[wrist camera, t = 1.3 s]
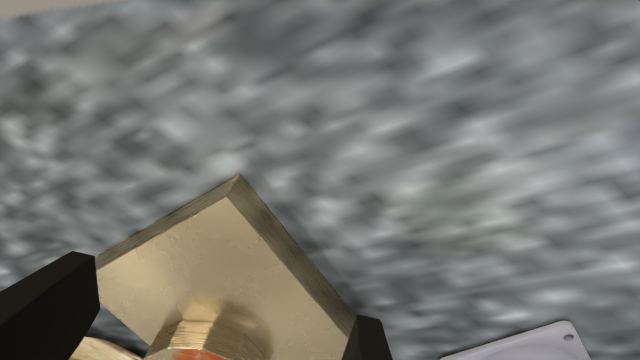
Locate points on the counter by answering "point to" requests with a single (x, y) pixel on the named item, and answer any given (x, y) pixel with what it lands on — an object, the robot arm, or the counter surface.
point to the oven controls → (223, 285)
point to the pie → (101, 351)
